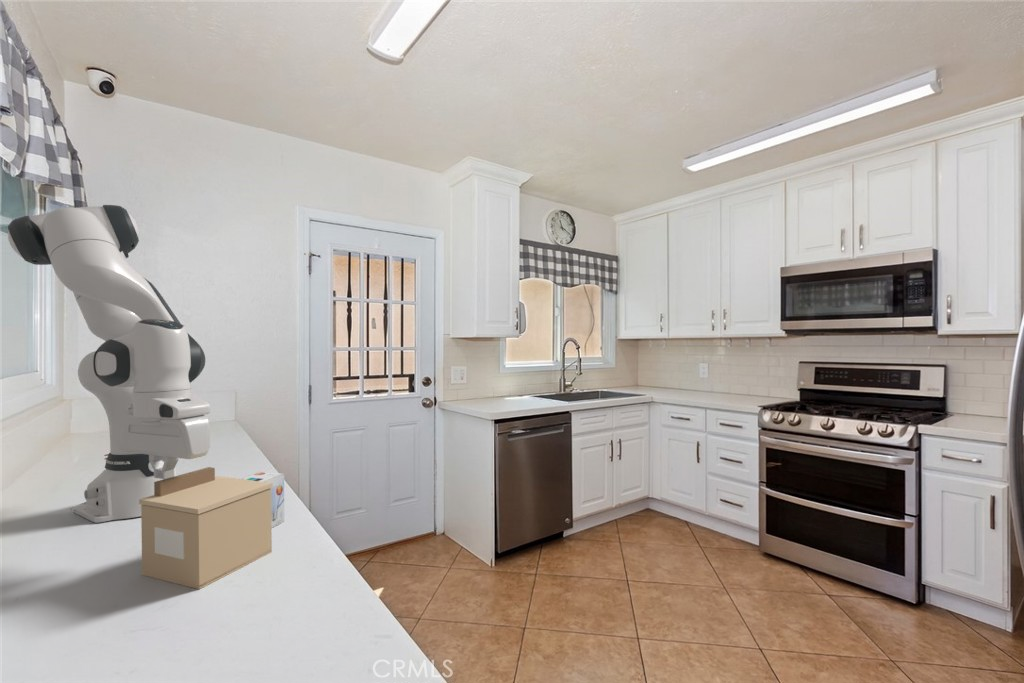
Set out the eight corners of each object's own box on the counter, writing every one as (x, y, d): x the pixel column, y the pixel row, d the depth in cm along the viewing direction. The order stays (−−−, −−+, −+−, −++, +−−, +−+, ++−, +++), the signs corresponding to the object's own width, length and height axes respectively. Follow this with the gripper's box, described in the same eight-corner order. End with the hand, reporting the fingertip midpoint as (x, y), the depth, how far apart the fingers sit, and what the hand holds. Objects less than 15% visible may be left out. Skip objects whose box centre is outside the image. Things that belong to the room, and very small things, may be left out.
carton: (141, 575, 80) (140, 505, 80) (218, 541, 93) (217, 481, 93) (198, 589, 75) (197, 515, 75) (271, 551, 88) (270, 488, 88)
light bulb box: (250, 541, 93) (249, 487, 93) (221, 538, 95) (220, 485, 94) (286, 520, 104) (285, 472, 104) (259, 518, 105) (259, 470, 105)
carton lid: (139, 504, 80) (138, 485, 80) (218, 480, 93) (217, 464, 93) (198, 514, 75) (197, 494, 75) (272, 487, 88) (272, 470, 88)
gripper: (108, 405, 89) (109, 477, 89) (182, 409, 82) (183, 488, 82) (144, 401, 95) (145, 469, 95) (216, 405, 88) (217, 478, 88)
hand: (164, 478), depth 88 cm, fingers closed
